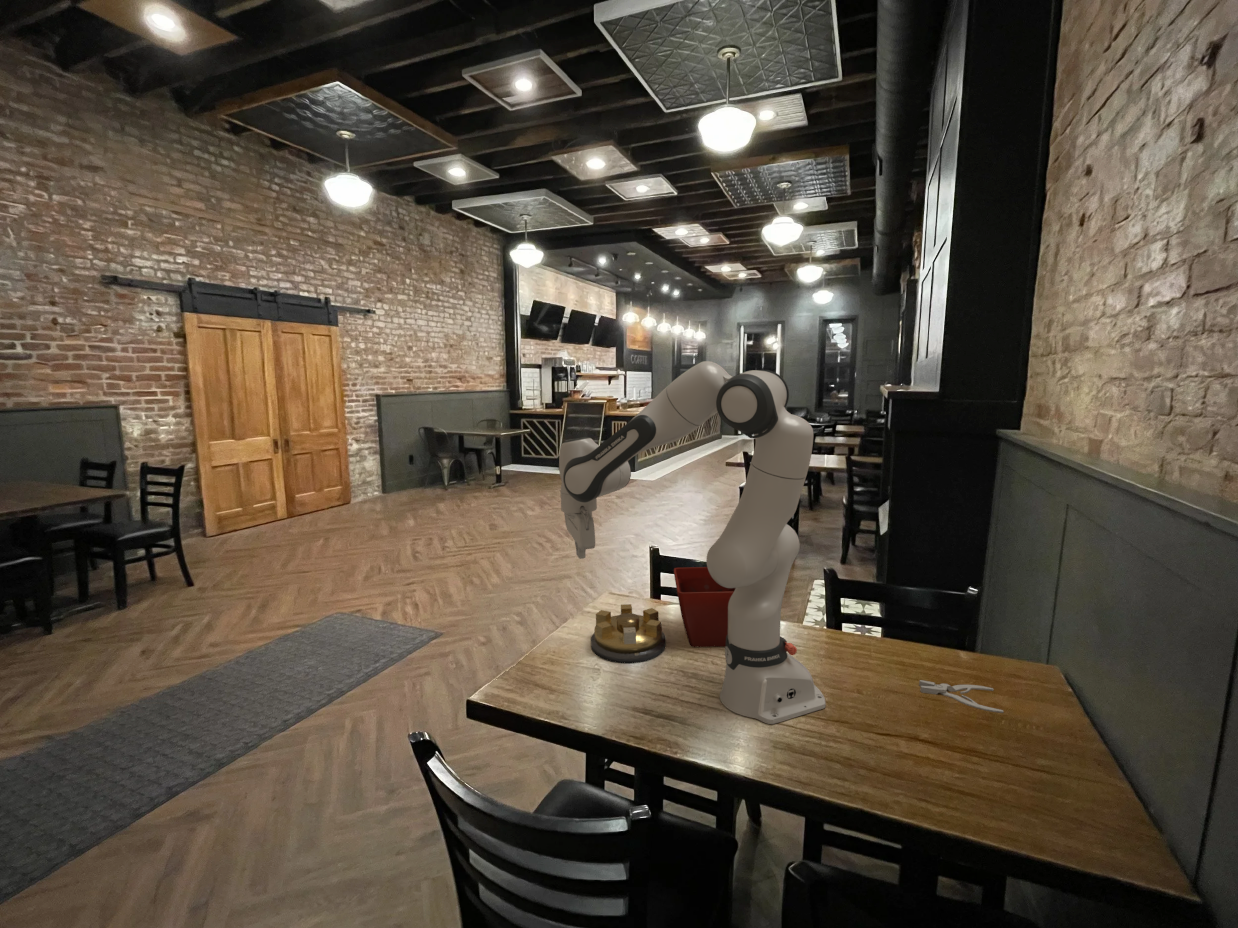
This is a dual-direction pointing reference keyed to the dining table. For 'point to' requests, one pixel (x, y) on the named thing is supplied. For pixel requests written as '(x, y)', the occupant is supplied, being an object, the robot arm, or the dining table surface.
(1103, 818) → the dining table surface
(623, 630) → the ring nut
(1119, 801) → the dining table surface
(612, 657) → the nut base
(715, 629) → the plant pot
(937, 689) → the pliers
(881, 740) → the dining table surface
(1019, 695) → the dining table surface
